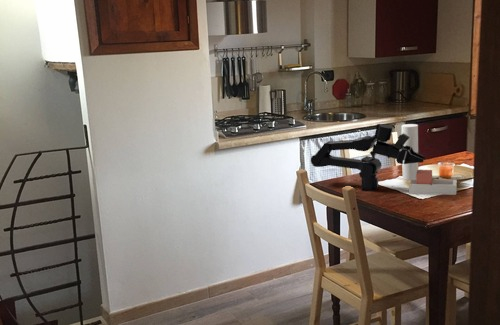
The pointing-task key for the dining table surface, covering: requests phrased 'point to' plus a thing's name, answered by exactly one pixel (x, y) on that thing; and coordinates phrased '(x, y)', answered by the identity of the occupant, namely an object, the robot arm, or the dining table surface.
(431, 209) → the dining table surface
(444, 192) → the plug guide
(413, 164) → the cylindrical container
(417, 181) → the plug
